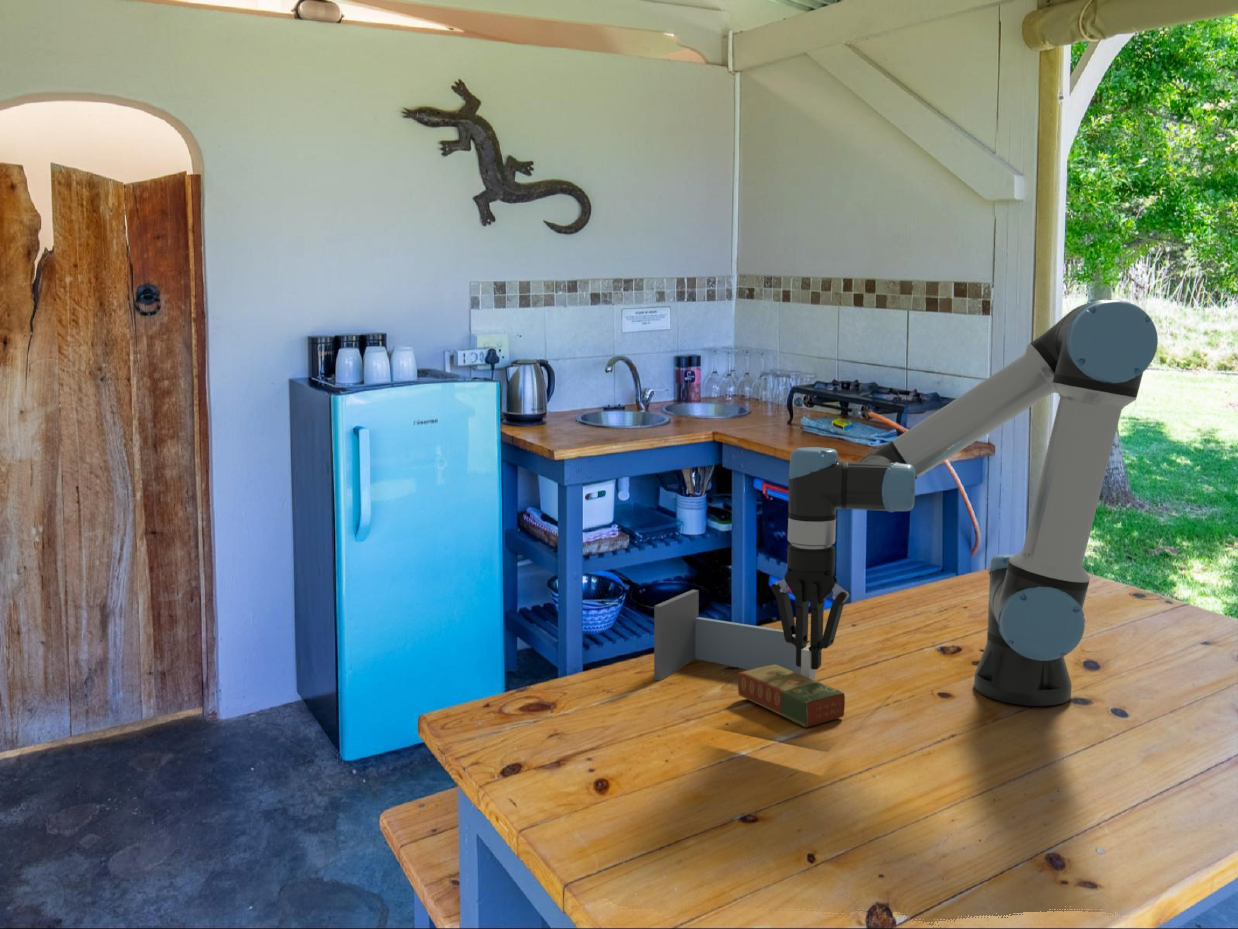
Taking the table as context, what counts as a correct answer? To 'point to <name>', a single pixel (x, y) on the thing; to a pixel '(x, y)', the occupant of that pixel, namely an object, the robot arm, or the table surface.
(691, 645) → the grey perpendicular panels
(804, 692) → the carton
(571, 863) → the table surface
